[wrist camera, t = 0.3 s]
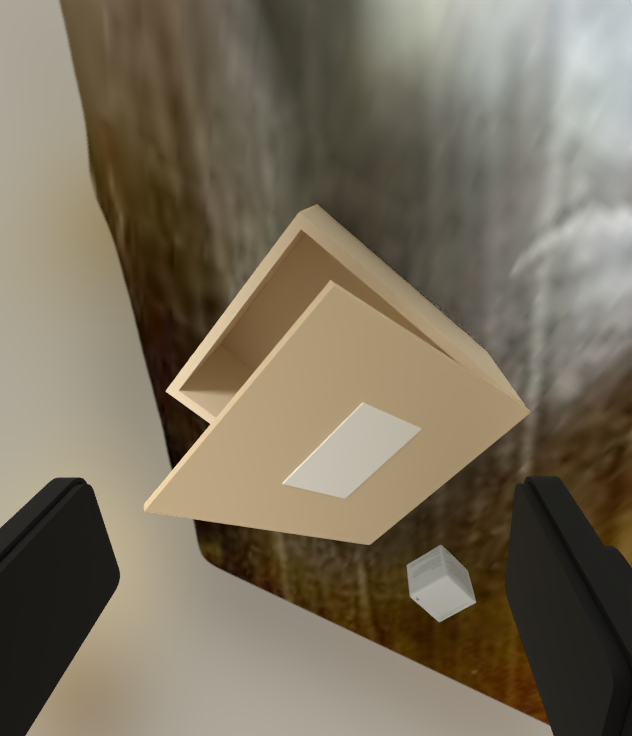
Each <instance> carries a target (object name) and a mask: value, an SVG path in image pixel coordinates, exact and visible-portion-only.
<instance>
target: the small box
mask: <svg viewBox="0 0 632 736" xmlns="http://www.w3.org/2000/svg"><path fill="white" fill-rule="evenodd" d="M407 574H408V584H409V594H410V597H411V598H412V599H413V600H414V601H415V602H416V603H418V604H419V605H420V606H421V607H422V608H423V609H424V610H426V611H427V612H428V613H429V614H430V615H431V616H432V617H433V618H435V619H436V620H437V621H438V622H441V621H443V620H444V619H446V618H448V617H450V616H452V615H454V614H456V613H458V612H459V611H461V610H463V609H465V608H467V607H469V606H471V605H473V604H475V603H476V600H475V596H474V592H473V588H472V584H471V581H470V577H469V573H468V570H467V569H466V568H465V567H464V566H463V565H462V564H461V563H460V562H459V561H458V560H457V559H456V558H455V557H454V556H453V555H452V554H451V553H450V552H449V551H448V550H447V549H445V548H444V547H443V546H442V545H439V546H437V547H436V548H434V549H432V550H431V551H429V552H428V553H426V554H424V555H422V556H421V557H419V558H417V559H416V560H414V561H412V562H411V563H409V564H407Z"/></svg>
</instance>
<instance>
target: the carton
mask: <svg viewBox="0 0 632 736" xmlns="http://www.w3.org/2000/svg"><path fill="white" fill-rule="evenodd" d="M330 280H331V281H333V282H334V283H336V284H337V285H339V286H340V287H342V288H343V289H345V290H346V291H348V292H350V293H351V294H353V295H354V296H356V297H357V298H359V299H360V300H362V301H363V302H365V303H367V304H368V305H370V306H371V307H373V308H374V309H376V310H377V311H379V312H380V313H382V314H383V315H385V316H387V317H388V318H390V319H391V320H393V321H394V322H396V323H397V324H399V325H400V326H402V327H403V328H405V329H407V330H408V331H410V332H411V333H413V334H414V335H416V336H417V337H419V338H420V339H422V340H423V341H425V342H427V343H428V344H430V345H431V346H433V347H434V348H436V349H437V350H439V351H440V352H442V353H443V354H445V355H447V356H448V357H450V358H451V359H453V360H454V361H456V362H457V363H459V364H460V365H462V366H464V367H465V368H467V369H468V370H470V371H471V372H473V373H474V374H476V375H477V376H479V377H480V378H482V379H484V380H485V381H487V382H488V383H490V384H491V385H493V386H494V387H496V388H497V389H499V390H500V391H502V392H504V393H505V394H507V395H508V396H510V397H511V398H513V399H514V400H516V401H517V402H519V403H520V404H522V405H524V406H525V404H524V403H523V402H522V400H521V399H520V397H519V396H518V395H517V393H516V392H515V390H514V389H513V388H512V386H511V385H510V383H509V382H508V381H507V379H506V378H505V376H504V375H503V374H502V372H501V371H500V369H499V368H498V367H497V365H496V364H495V362H494V361H493V359H492V358H491V357H490V355H489V354H488V352H487V351H486V350H485V349H484V348H482V347H481V346H480V345H479V344H478V343H477V342H476V341H474V340H473V339H472V338H471V337H470V336H469V335H468V334H466V333H465V332H464V331H463V330H462V329H461V328H459V327H458V326H457V325H456V324H455V323H454V322H453V321H451V320H450V319H449V318H448V317H447V316H446V315H444V314H443V313H442V312H441V311H440V310H439V309H438V308H436V307H435V306H434V305H433V304H432V303H431V302H430V301H428V300H427V299H426V298H425V297H424V296H423V295H421V294H420V293H419V292H418V291H417V290H416V289H415V288H413V287H412V286H411V285H410V284H409V283H408V282H406V281H405V280H404V279H403V278H402V277H401V276H400V275H398V274H397V273H396V272H395V271H394V270H393V269H391V268H390V267H389V266H388V265H387V264H386V263H385V262H383V261H382V260H381V259H380V258H379V257H378V256H377V255H375V254H374V253H373V252H372V251H371V250H370V249H368V248H367V247H366V246H365V245H364V244H363V243H362V242H360V241H359V240H358V239H357V238H356V237H355V236H353V235H352V234H351V233H350V232H349V231H348V230H347V229H345V228H344V227H343V226H342V225H341V224H340V223H339V222H337V221H336V220H335V219H334V218H333V217H332V216H330V215H329V214H328V213H327V212H326V211H325V210H324V209H322V208H321V207H320V206H319V205H318V204H316V205H314V206H312V207H309V208H307V209H304V210H302V211H300V212H299V213H298V214H297V215H296V217H295V218H294V219H293V221H292V222H291V223H290V225H289V226H288V227H287V229H286V230H285V231H284V233H283V234H282V235H281V237H280V238H279V239H278V241H277V242H276V244H275V245H274V246H273V248H272V249H271V250H270V252H269V253H268V254H267V256H266V257H265V258H264V260H263V261H262V262H261V264H260V265H259V266H258V268H257V269H256V270H255V272H254V273H253V274H252V276H251V277H250V278H249V280H248V281H247V282H246V284H245V285H244V287H243V288H242V289H241V291H240V292H239V293H238V295H237V296H236V297H235V299H234V300H233V301H232V303H231V304H230V305H229V307H228V308H227V309H226V311H225V312H224V313H223V315H222V316H221V317H220V319H219V320H218V321H217V323H216V324H215V325H214V327H213V328H212V330H211V331H210V332H209V334H208V335H207V336H206V338H205V339H204V340H203V342H202V343H201V344H200V346H199V347H198V348H197V350H196V351H195V352H194V354H193V355H192V356H191V358H190V359H189V360H188V362H187V363H186V364H185V366H184V367H183V369H182V370H181V371H180V373H179V374H178V375H177V377H176V378H175V379H174V381H173V382H172V383H171V385H170V386H169V387H168V389H167V390H166V392H167V393H169V394H170V395H171V396H173V397H174V398H176V399H177V400H178V401H180V402H181V403H182V404H184V405H185V406H187V407H188V408H189V409H191V410H192V411H193V412H195V413H196V414H198V415H199V416H200V417H202V418H203V419H205V420H206V421H207V422H209V423H210V424H211V423H212V422H213V421H214V420H215V418H216V417H217V416H218V415H219V414H220V412H221V411H222V410H223V409H224V408H225V406H226V405H227V404H228V403H229V402H230V400H231V399H232V398H233V397H234V396H235V394H236V393H237V392H238V391H239V390H240V388H241V387H242V386H243V385H244V384H245V382H246V381H247V380H248V379H249V378H250V376H251V375H252V374H253V373H254V372H255V370H256V369H257V368H258V367H259V366H260V364H261V363H262V362H263V361H264V360H265V358H266V357H267V356H268V355H269V354H270V352H271V351H272V350H273V349H274V348H275V346H276V345H277V344H278V343H279V341H280V340H281V339H282V338H283V337H284V335H285V334H286V333H287V332H288V331H289V329H290V328H291V327H292V326H293V325H294V323H295V322H296V321H297V320H298V319H299V317H300V316H301V315H302V314H303V313H304V311H305V310H306V309H307V308H308V307H309V305H310V304H311V303H312V302H313V301H314V299H315V298H316V297H317V296H318V295H319V293H320V292H321V291H322V290H323V289H324V287H325V286H326V285H327V284H328V283H329V281H330Z"/></svg>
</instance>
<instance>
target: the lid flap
mask: <svg viewBox="0 0 632 736" xmlns="http://www.w3.org/2000/svg"><path fill="white" fill-rule="evenodd" d="M530 413H531V412H530V411H529V409H528V408H527V407H525V406H524V405H522V404H520V403H519V402H517V401H516V400H514V399H513V398H511V397H510V396H508V395H507V394H505V393H504V392H502V391H500V390H499V389H497V388H496V387H494V386H493V385H491V384H490V383H488V382H487V381H485V380H484V379H482V378H480V377H479V376H477V375H476V374H474V373H473V372H471V371H470V370H468V369H467V368H465V367H464V366H462V365H460V364H459V363H457V362H456V361H454V360H453V359H451V358H450V357H448V356H447V355H445V354H443V353H442V352H440V351H439V350H437V349H436V348H434V347H433V346H431V345H430V344H428V343H427V342H425V341H423V340H422V339H420V338H419V337H417V336H416V335H414V334H413V333H411V332H410V331H408V330H407V329H405V328H403V327H402V326H400V325H399V324H397V323H396V322H394V321H393V320H391V319H390V318H388V317H387V316H385V315H383V314H382V313H380V312H379V311H377V310H376V309H374V308H373V307H371V306H370V305H368V304H367V303H365V302H363V301H362V300H360V299H359V298H357V297H356V296H354V295H353V294H351V293H350V292H348V291H346V290H345V289H343V288H342V287H340V286H339V285H337V284H336V283H334V282H333V281H331V280H330V281H329V283H328V284H327V285H326V286H325V287H324V289H323V290H322V291H321V292H320V293H319V295H318V296H317V297H316V298H315V299H314V301H313V302H312V303H311V304H310V305H309V307H308V308H307V309H306V310H305V311H304V313H303V314H302V315H301V316H300V317H299V319H298V320H297V321H296V322H295V323H294V325H293V326H292V327H291V328H290V329H289V331H288V332H287V333H286V334H285V335H284V337H283V338H282V339H281V340H280V341H279V343H278V344H277V345H276V346H275V348H274V349H273V350H272V351H271V352H270V354H269V355H268V356H267V357H266V358H265V360H264V361H263V362H262V363H261V364H260V366H259V367H258V368H257V369H256V370H255V372H254V373H253V374H252V375H251V376H250V378H249V379H248V380H247V381H246V382H245V384H244V385H243V386H242V387H241V388H240V390H239V391H238V392H237V393H236V394H235V396H234V397H233V398H232V399H231V400H230V402H229V403H228V404H227V405H226V406H225V408H224V409H223V410H222V411H221V412H220V414H219V415H218V416H217V417H216V418H215V420H214V421H213V422H212V423H211V424H210V426H209V427H208V428H207V429H206V430H205V432H204V433H203V434H202V435H201V437H200V438H199V439H198V440H197V441H196V443H195V444H194V445H193V446H192V447H191V449H190V450H189V451H188V452H187V453H186V455H185V456H184V457H183V458H182V459H181V461H180V462H179V463H178V464H177V465H176V467H175V468H174V469H173V470H172V471H171V473H170V474H169V475H168V476H167V478H166V479H165V480H164V481H163V482H162V483H161V485H160V486H159V487H158V488H157V490H156V491H155V492H154V493H153V495H151V497H150V498H149V499H148V500H147V501H146V503H145V504H144V511H145V512H151V513H157V514H164V515H171V516H177V517H184V518H190V519H197V520H204V521H211V522H217V523H224V524H231V525H238V526H244V527H251V528H258V529H264V530H271V531H278V532H285V533H291V534H298V535H305V536H311V537H318V538H325V539H332V540H338V541H345V542H352V543H358V544H365V545H370V544H372V543H373V542H374V541H375V540H377V539H378V538H379V537H380V536H381V535H383V534H384V533H385V532H386V531H387V530H389V529H390V528H391V527H392V526H394V525H395V524H396V523H397V522H398V521H400V520H401V519H402V518H403V517H404V516H406V515H407V514H408V513H409V512H411V511H412V510H413V509H414V508H415V507H417V506H418V505H419V504H420V503H421V502H423V501H424V500H425V499H426V498H428V497H429V496H430V495H431V494H432V493H434V492H435V491H436V490H437V489H439V488H440V487H441V486H442V485H443V484H445V483H446V482H447V481H448V480H449V479H451V478H452V477H453V476H454V475H456V474H457V473H458V472H459V471H460V470H462V469H463V468H464V467H465V466H466V465H468V464H469V463H470V462H471V461H473V460H474V459H475V458H476V457H477V456H479V455H480V454H481V453H482V452H483V451H485V450H486V449H487V448H488V447H490V446H491V445H492V444H493V443H494V442H496V441H497V440H498V439H499V438H500V437H502V436H503V435H504V434H505V433H507V432H508V431H509V430H510V429H511V428H513V427H514V426H515V425H516V424H517V423H519V422H520V421H521V420H522V419H524V418H525V417H526V416H527V415H528V414H530Z"/></svg>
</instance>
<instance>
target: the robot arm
mask: <svg viewBox="0 0 632 736" xmlns="http://www.w3.org/2000/svg"><path fill="white" fill-rule="evenodd" d="M119 579H120V571H119V567H118V565H117V561H116V558H115V555H114V552H113V549H112V546H111V543H110V540H109V537H108V534H107V531H106V528H105V524H104V521H103V518H102V515H101V512H100V509H99V506H98V503H97V500H96V497H95V494H94V491H93V488H92V487H91V486H90V485H88V484H87V483H86V481H85V480H84V479H83V478H55V479H53V480H52V481H50V482H49V483H48V484H47V485H46V486H45V487H44V488H43V489H42V490H40V491H39V492H38V493H37V494H36V495H35V496H34V497H33V498H32V499H31V500H30V501H29V502H28V503H27V504H26V505H25V506H23V507H22V508H21V509H20V510H19V511H18V512H17V513H16V514H15V515H14V516H13V517H12V518H11V519H10V520H9V521H7V522H6V523H5V524H4V525H3V526H2V527H1V528H0V736H25V735H26V734H27V732H28V731H29V729H30V727H31V726H32V724H33V722H34V721H35V719H36V718H37V716H38V714H39V713H40V711H41V710H42V708H43V706H44V705H45V703H46V701H47V700H48V698H49V697H50V695H51V693H52V692H53V690H54V689H55V687H56V685H57V684H58V682H59V680H60V679H61V677H62V676H63V674H64V672H65V671H66V669H67V667H68V666H69V664H70V663H71V661H72V660H73V658H74V656H75V655H76V653H77V651H78V650H79V648H80V647H81V645H82V643H83V642H84V640H85V639H86V637H87V635H88V634H89V632H90V630H91V629H92V627H93V626H94V624H95V622H96V621H97V619H98V617H99V616H100V614H101V613H102V611H103V609H104V608H105V606H106V605H107V603H108V601H109V600H110V598H111V597H112V595H113V593H114V592H115V590H116V588H117V586H118V583H119ZM505 587H506V594H507V599H508V602H509V605H510V608H511V611H512V614H513V617H514V620H515V623H516V626H517V629H518V632H519V635H520V638H521V641H522V644H523V647H524V649H525V652H526V655H527V658H528V661H529V664H530V667H531V670H532V673H533V676H534V679H535V682H536V685H537V688H538V691H539V694H540V697H541V700H542V703H543V706H544V709H545V711H546V714H547V717H548V720H549V723H550V726H551V729H552V732H553V735H554V736H632V568H631V566H630V565H629V564H628V562H627V561H626V559H625V558H624V556H623V555H622V554H621V553H620V552H619V551H618V549H616V548H614V547H613V546H604V545H603V543H602V542H601V540H600V538H599V537H598V535H597V534H596V532H595V531H594V529H593V528H592V526H591V525H590V523H589V522H588V520H587V519H586V517H585V516H584V514H583V513H582V511H581V510H580V508H579V506H578V505H577V503H576V502H575V500H574V499H573V497H572V496H571V494H570V493H569V491H568V490H567V488H566V487H565V485H564V484H563V482H562V481H561V479H560V478H559V477H556V476H528V477H526V479H525V482H524V484H517V485H516V488H515V495H514V504H513V514H512V523H511V533H510V542H509V551H508V561H507V570H506V579H505Z"/></svg>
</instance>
